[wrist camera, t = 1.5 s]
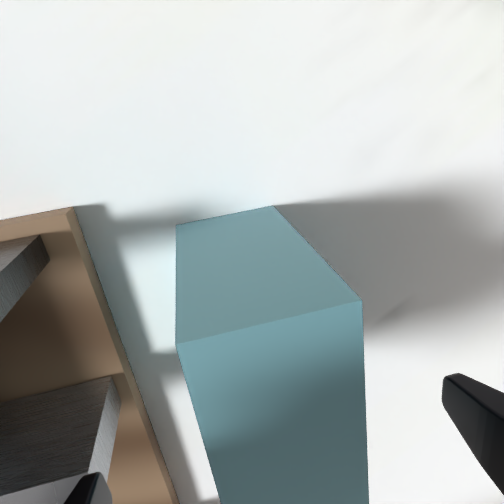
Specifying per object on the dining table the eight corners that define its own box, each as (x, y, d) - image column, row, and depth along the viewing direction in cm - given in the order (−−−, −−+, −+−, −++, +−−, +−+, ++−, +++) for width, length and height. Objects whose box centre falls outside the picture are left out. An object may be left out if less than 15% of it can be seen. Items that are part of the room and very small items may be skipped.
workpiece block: (290, 342, 18) (368, 507, 11) (210, 362, 17) (233, 548, 10) (272, 205, 15) (361, 300, 8) (176, 224, 15) (175, 345, 7)
